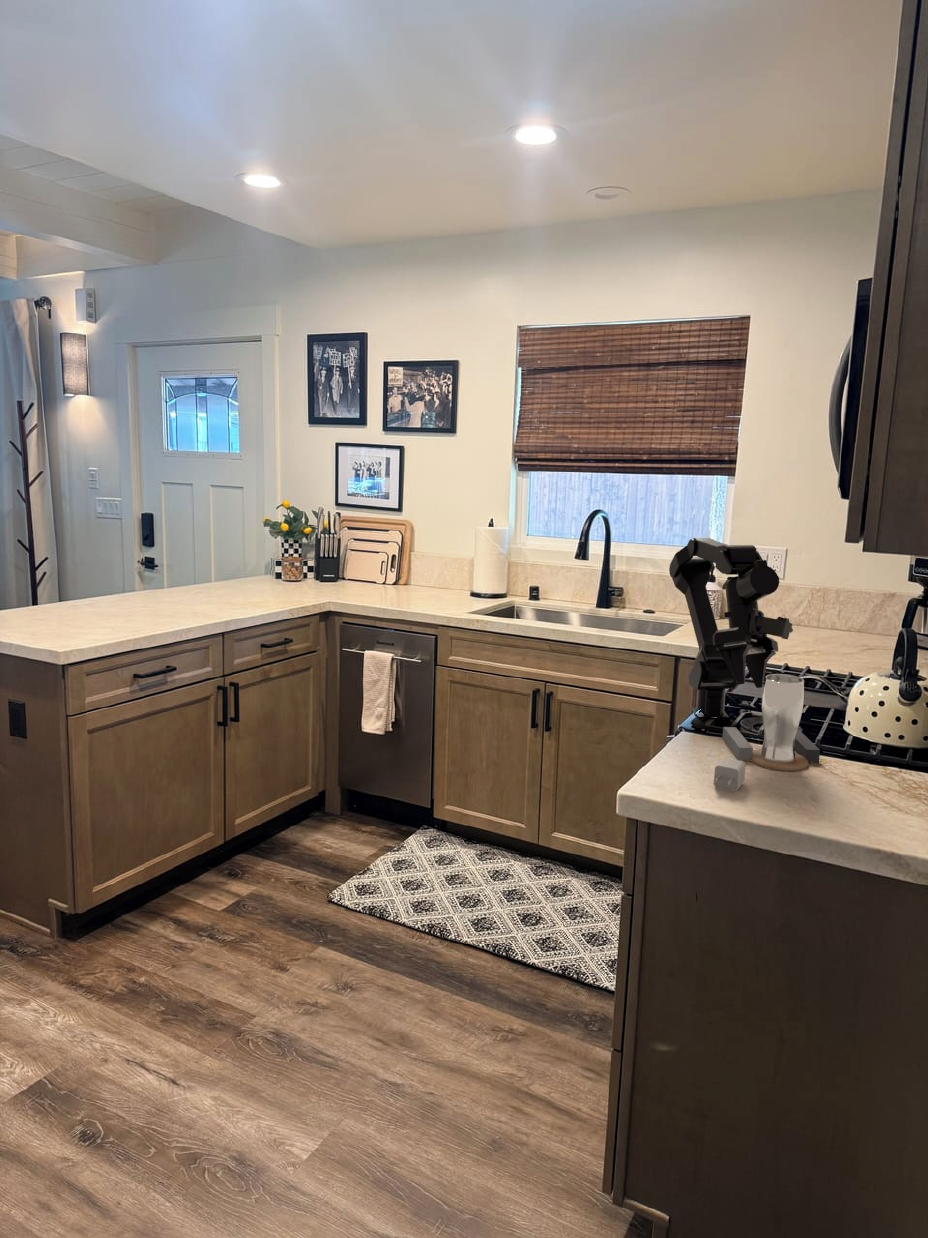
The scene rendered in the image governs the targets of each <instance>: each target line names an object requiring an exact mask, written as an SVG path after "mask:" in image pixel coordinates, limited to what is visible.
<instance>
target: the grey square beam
mask: <svg viewBox="0 0 928 1238" xmlns="http://www.w3.org/2000/svg"><path fill="white" fill-rule="evenodd" d="M721 739H722V740H723V741H724V743H725V744H726V746H728V748H729V749H730V751H731V752H732V753H733V754H734V755H733V756H735V758H736V760H740V761H749V762H750V761H751V757H752V754H753V751H754V747H753V746H752V745H751V744H750V742H749V741H748V740H747V739H746V737H744V736H743V734H742V733H741V732H740V730H739V729H737V727H736V726H735V727H733V726H723V727H722V737H721ZM751 762H752V761H751Z"/></svg>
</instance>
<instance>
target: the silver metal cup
mask: <svg viewBox="0 0 928 1238" xmlns="http://www.w3.org/2000/svg"><path fill="white" fill-rule="evenodd" d="M804 685H805V680H804V678H803V677H799V676H796V675H793V674H784V673H769V674H765V676H764V681H763V687H762V688H763V689H762V697H761V713H762V714H761V717H762V725H763V742H762V746H761V748H760V749H761V753H760V756H761V758H763V759H764V760H767V761H770V762H774V763H782V764H787V763H792V762H794V761H795V760H796V756H795V753H796V752H795V736H796V732H797V729H798V728H799V725H800V722H801V718H802V714H803V708H804V698H805V697H804V696H805V695H804V694H805V688H804V687H805V686H804ZM798 730H799V729H798Z"/></svg>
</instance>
